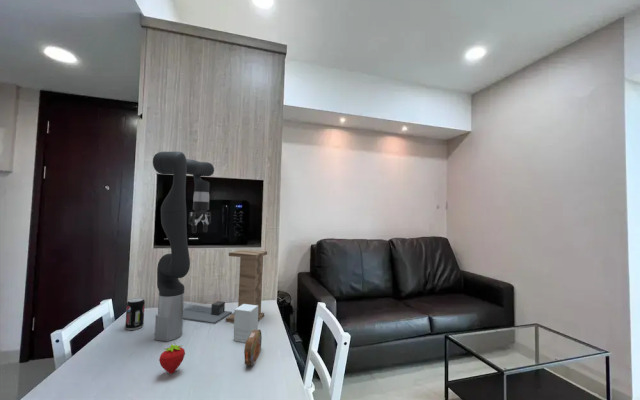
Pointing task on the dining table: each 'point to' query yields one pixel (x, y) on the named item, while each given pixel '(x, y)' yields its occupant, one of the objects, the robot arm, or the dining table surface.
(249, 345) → the tin
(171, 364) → the strawberry
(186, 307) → the steel bar
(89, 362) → the dining table surface
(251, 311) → the supplement box
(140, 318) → the beverage can
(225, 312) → the charcoal mat
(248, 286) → the walnut shelf stand
